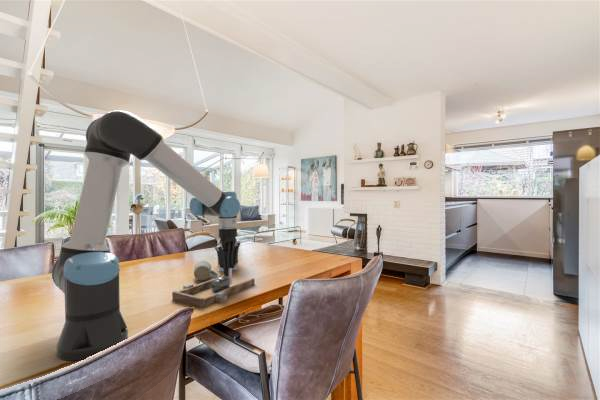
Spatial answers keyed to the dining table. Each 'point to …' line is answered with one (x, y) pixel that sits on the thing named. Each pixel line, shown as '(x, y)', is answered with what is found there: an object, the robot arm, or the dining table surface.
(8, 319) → the dining table surface
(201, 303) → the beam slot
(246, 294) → the dining table surface
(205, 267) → the ceramic mug
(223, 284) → the rider
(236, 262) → the tea box
